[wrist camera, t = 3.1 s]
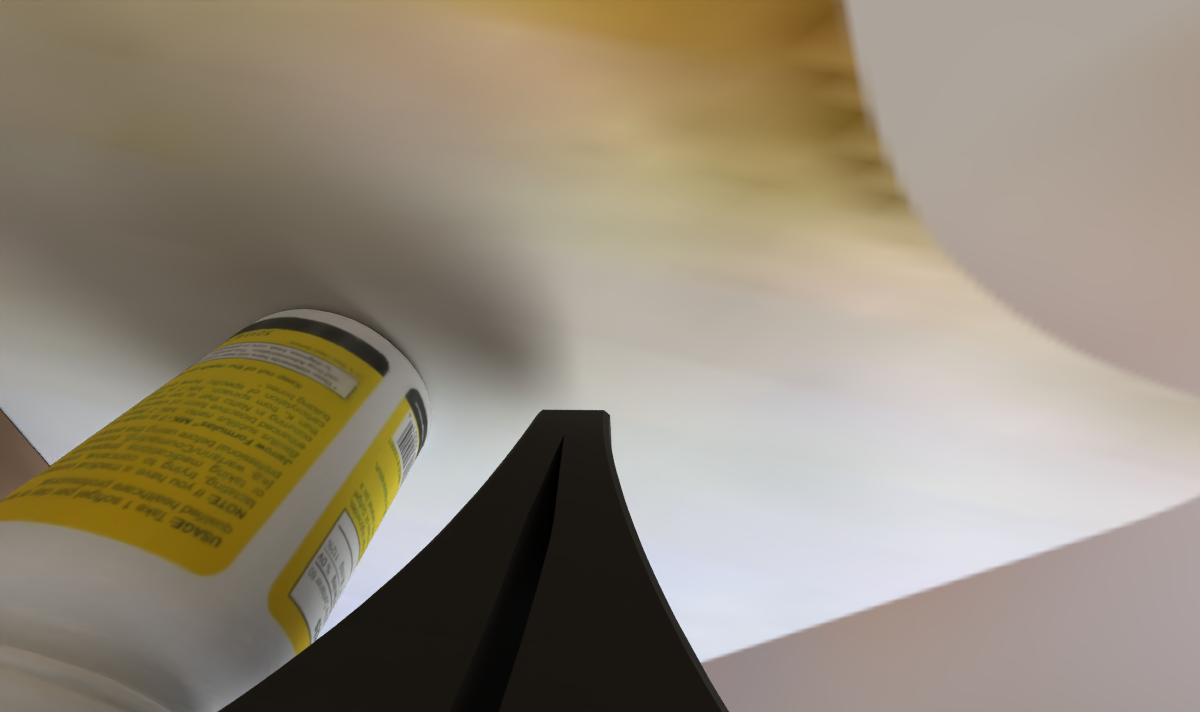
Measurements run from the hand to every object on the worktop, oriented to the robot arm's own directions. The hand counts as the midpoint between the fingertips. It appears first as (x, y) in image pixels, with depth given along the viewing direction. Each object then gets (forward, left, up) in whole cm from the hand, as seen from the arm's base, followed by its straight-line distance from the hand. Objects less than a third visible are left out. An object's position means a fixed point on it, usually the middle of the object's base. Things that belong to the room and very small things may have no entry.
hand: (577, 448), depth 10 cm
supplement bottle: (0, +6, -2) cm, 6 cm away
